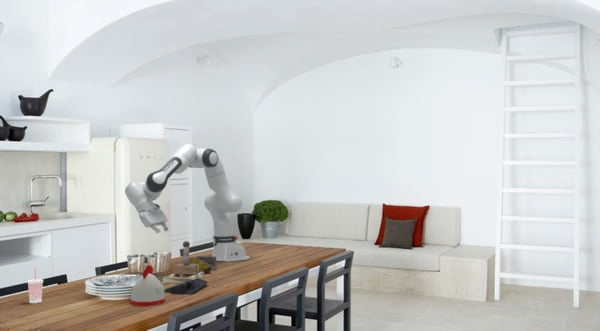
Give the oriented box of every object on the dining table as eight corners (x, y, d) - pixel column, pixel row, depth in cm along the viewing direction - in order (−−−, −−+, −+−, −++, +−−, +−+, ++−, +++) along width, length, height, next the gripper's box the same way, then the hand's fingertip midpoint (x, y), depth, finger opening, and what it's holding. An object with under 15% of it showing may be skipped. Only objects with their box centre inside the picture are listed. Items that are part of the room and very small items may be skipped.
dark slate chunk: (213, 286, 290) (213, 276, 290) (191, 296, 269) (190, 285, 269) (184, 284, 295) (184, 274, 295) (160, 294, 274) (160, 283, 274)
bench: (195, 268, 335) (195, 255, 334) (219, 269, 331) (219, 256, 331) (163, 282, 297) (163, 267, 297) (190, 283, 294) (190, 269, 294)
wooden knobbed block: (179, 275, 312) (179, 239, 311) (200, 276, 309) (199, 240, 309) (173, 277, 305) (173, 241, 304) (194, 278, 302) (194, 242, 302)
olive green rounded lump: (202, 275, 315) (202, 259, 315) (183, 273, 322) (183, 257, 322) (213, 272, 322) (213, 257, 322) (194, 270, 329) (194, 255, 329)
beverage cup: (38, 299, 261) (38, 266, 261) (46, 301, 257) (46, 268, 257) (24, 302, 257) (24, 268, 256) (32, 304, 253) (31, 270, 253)
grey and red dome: (170, 299, 262) (170, 263, 262) (155, 306, 248) (155, 269, 248) (140, 297, 265) (140, 262, 265) (124, 305, 252) (124, 268, 251)
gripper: (141, 207, 302) (158, 229, 300) (160, 204, 322) (176, 225, 320) (132, 215, 303) (148, 237, 301) (152, 212, 323) (167, 233, 321)
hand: (163, 231), depth 310 cm, fingers open, 8 cm apart
